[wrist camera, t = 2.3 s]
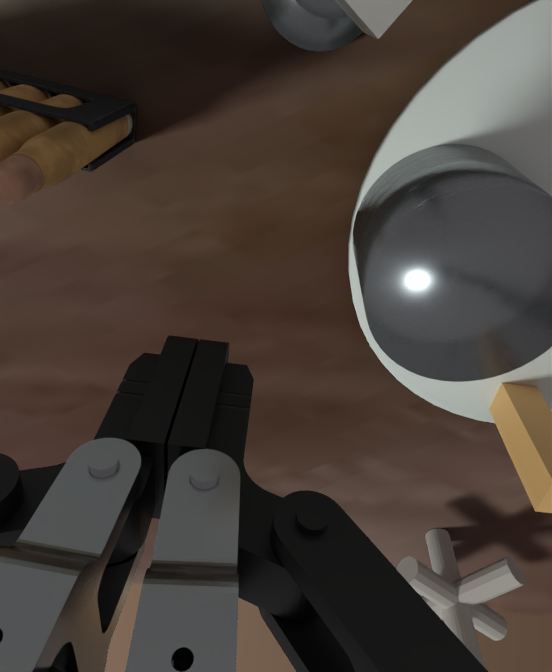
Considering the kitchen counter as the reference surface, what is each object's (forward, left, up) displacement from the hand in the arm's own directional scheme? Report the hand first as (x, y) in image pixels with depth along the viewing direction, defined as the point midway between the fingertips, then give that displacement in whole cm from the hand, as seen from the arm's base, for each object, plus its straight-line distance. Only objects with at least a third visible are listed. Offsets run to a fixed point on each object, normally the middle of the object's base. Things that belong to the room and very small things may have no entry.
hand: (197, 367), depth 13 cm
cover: (-9, 0, -12) cm, 15 cm away
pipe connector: (-17, +25, -15) cm, 34 cm away
